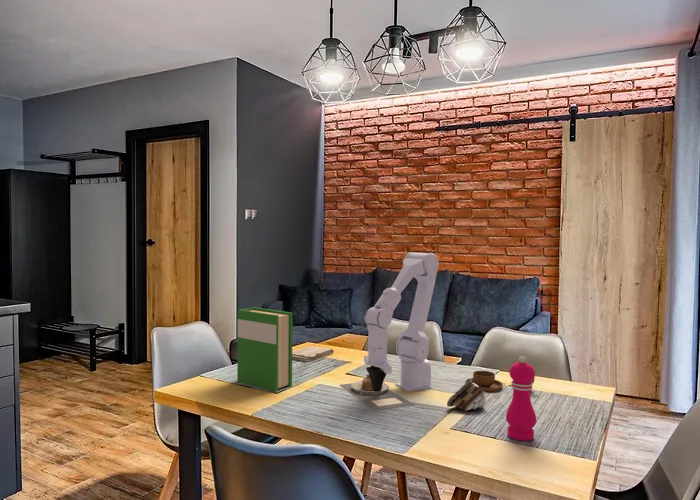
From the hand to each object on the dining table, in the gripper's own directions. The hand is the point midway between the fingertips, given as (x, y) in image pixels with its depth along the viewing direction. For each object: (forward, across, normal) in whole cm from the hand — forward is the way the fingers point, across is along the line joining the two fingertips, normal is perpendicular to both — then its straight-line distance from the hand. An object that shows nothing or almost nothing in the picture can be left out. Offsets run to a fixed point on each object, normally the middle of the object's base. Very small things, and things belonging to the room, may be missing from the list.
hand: (377, 390), depth 160 cm
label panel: (+2, -2, 0) cm, 2 cm away
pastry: (+2, -6, +1) cm, 6 cm away
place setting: (+2, +8, +39) cm, 40 cm away
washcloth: (+2, -55, -2) cm, 55 cm away
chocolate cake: (+4, +20, +15) cm, 26 cm away
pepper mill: (+2, +42, +19) cm, 46 cm away
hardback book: (+2, -25, -29) cm, 38 cm away
